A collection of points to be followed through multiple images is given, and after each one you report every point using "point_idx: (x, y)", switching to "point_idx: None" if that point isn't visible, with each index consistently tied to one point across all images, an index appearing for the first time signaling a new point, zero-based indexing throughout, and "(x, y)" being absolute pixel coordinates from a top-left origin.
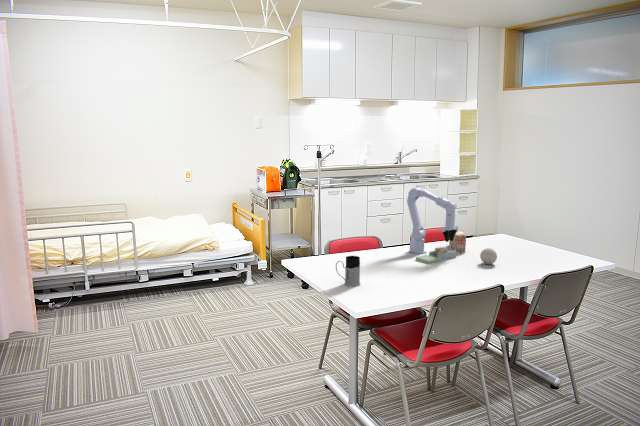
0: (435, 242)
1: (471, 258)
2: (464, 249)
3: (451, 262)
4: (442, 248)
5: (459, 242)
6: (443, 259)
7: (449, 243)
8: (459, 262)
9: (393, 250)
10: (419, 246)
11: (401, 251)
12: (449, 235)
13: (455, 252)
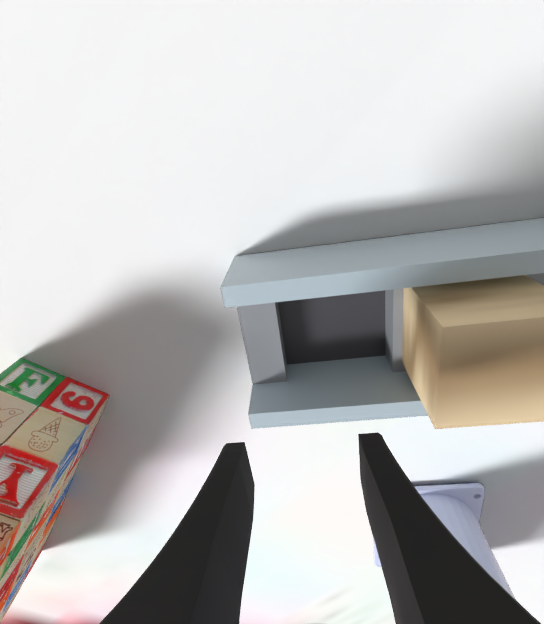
0: (104, 613)
1: (79, 120)
2: (5, 382)
3: (487, 74)
4: (514, 337)
5: (10, 471)
6: (473, 228)
7: (33, 563)
8: (387, 10)
9: (535, 603)
10: (488, 561)
11: (513, 572)
12: (413, 576)
13: (244, 275)
